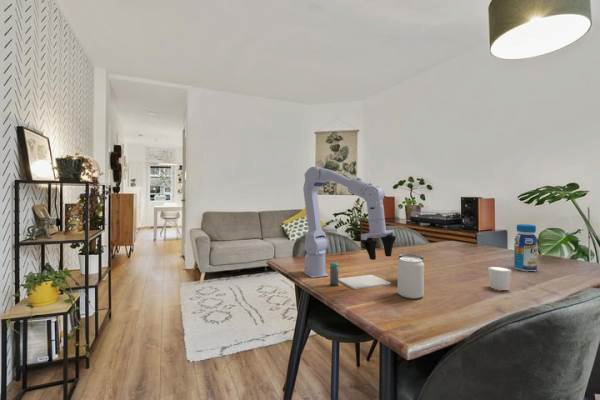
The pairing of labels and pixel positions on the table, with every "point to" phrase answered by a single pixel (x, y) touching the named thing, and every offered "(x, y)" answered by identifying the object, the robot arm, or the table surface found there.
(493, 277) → the white cylinder
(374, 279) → the paper pad
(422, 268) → the beverage can
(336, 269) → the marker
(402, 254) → the coffee mug
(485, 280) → the table surface
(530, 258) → the blue supplement bottle
